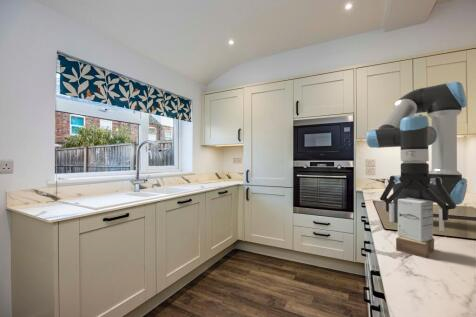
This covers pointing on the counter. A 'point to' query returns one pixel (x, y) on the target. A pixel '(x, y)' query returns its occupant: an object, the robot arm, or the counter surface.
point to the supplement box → (415, 219)
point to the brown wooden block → (415, 246)
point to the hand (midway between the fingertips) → (414, 225)
